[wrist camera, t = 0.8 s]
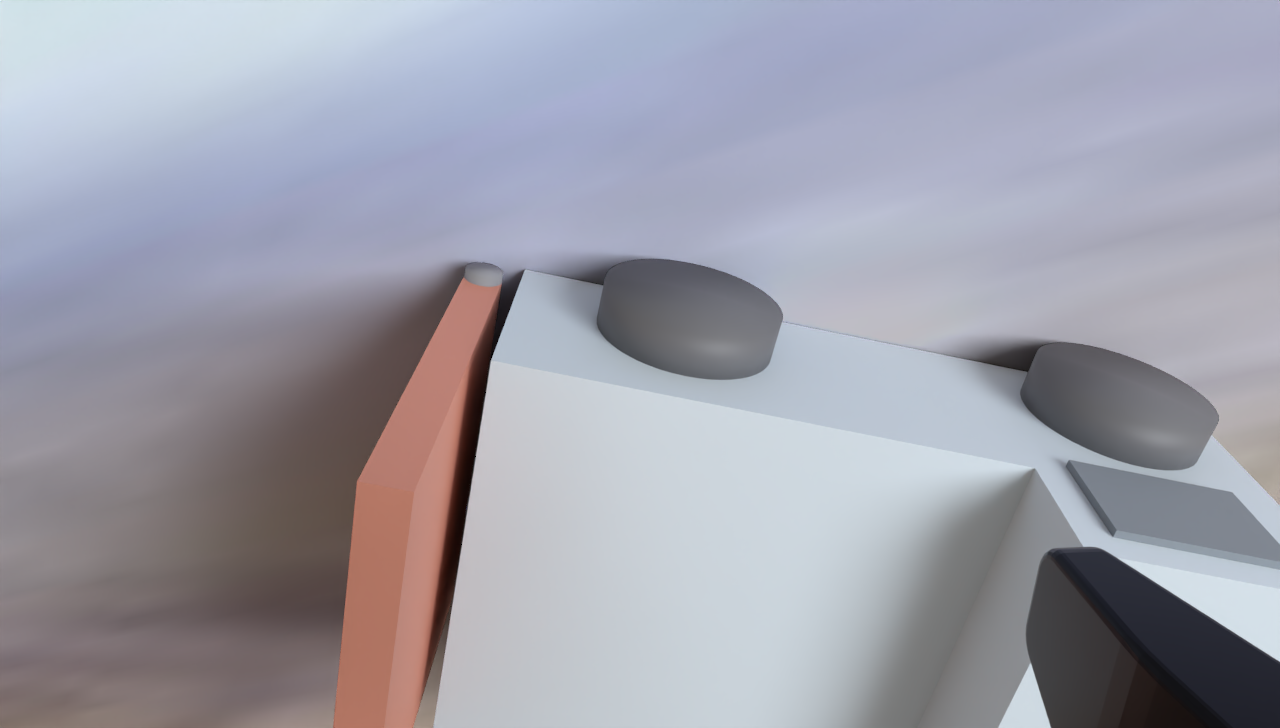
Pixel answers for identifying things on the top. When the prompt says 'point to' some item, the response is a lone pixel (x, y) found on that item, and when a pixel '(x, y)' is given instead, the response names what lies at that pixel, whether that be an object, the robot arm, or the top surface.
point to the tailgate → (415, 516)
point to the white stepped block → (809, 515)
